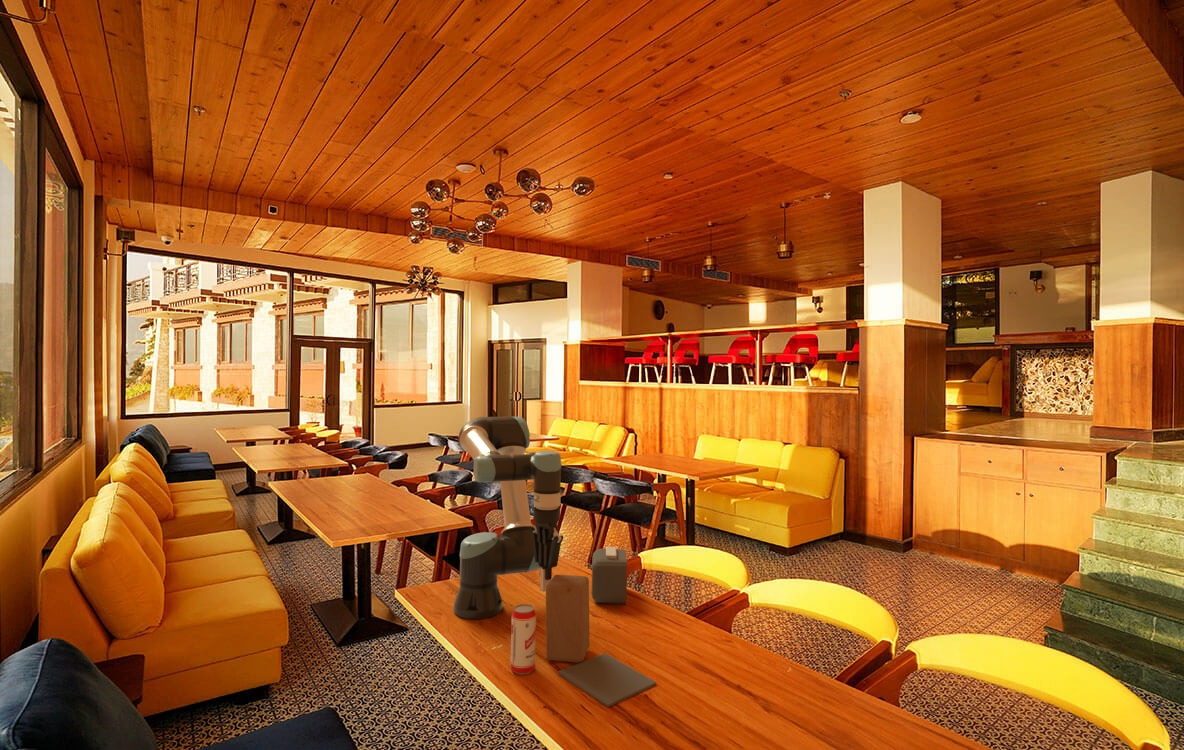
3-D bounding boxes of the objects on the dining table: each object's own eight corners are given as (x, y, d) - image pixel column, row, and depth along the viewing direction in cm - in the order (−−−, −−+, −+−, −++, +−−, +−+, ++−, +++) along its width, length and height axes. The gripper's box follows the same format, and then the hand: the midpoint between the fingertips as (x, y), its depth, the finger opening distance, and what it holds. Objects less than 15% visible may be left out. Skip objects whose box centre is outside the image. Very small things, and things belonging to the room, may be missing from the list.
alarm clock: (626, 606, 200) (627, 559, 199) (591, 605, 200) (592, 558, 199) (624, 587, 216) (625, 543, 215) (591, 587, 216) (592, 542, 215)
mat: (557, 673, 156) (558, 671, 156) (605, 655, 167) (605, 652, 167) (607, 707, 142) (607, 704, 142) (656, 684, 152) (656, 682, 152)
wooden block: (582, 664, 160) (581, 587, 160) (545, 661, 162) (544, 585, 162) (590, 647, 170) (589, 575, 170) (555, 645, 172) (554, 573, 172)
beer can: (539, 666, 160) (540, 605, 160) (528, 678, 154) (529, 614, 154) (517, 661, 162) (518, 601, 162) (506, 673, 156) (507, 611, 156)
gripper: (522, 504, 176) (521, 586, 176) (549, 513, 166) (548, 600, 167) (544, 500, 181) (542, 580, 181) (571, 509, 171) (570, 593, 171)
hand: (545, 589), depth 174 cm, fingers closed
